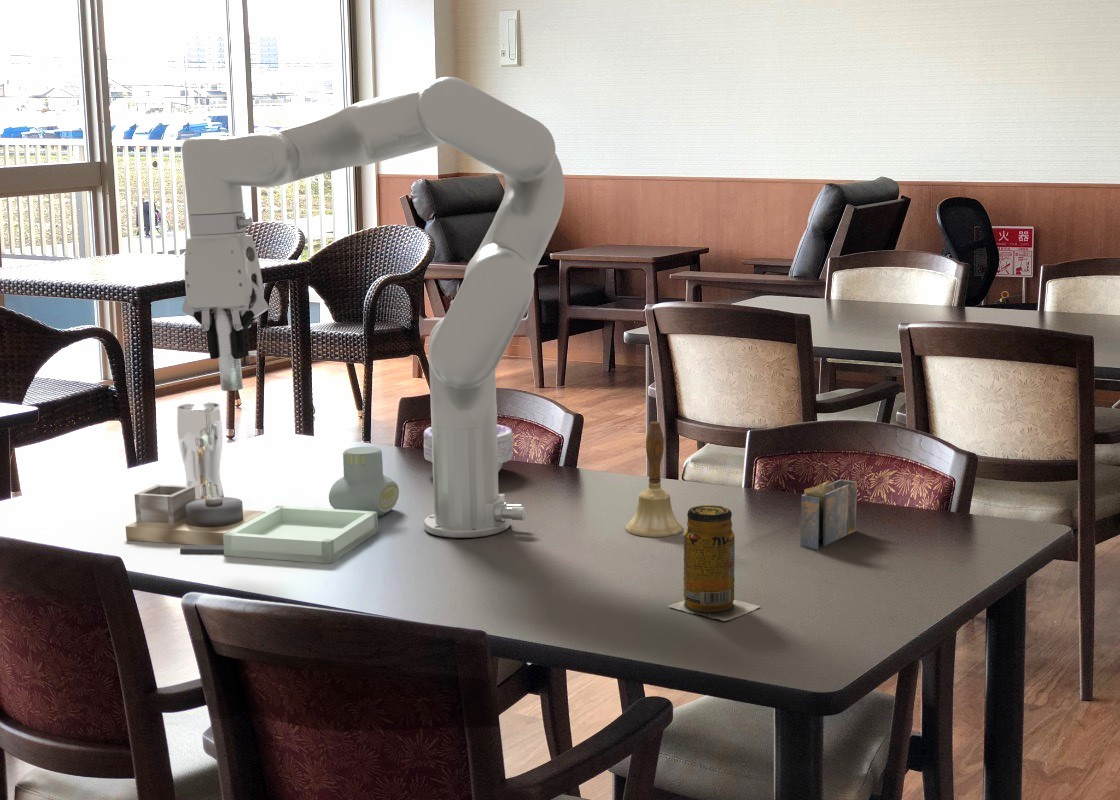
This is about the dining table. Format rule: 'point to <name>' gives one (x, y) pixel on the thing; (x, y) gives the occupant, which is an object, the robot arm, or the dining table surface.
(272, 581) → the dining table surface
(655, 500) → the hand bell
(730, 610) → the condiment
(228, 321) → the capped tube
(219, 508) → the wooden base with holder
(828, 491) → the grey split block
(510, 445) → the paper bowls
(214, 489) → the beer glass
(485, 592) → the dining table surface
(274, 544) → the tray
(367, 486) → the air freshener
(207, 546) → the dark grey bar
